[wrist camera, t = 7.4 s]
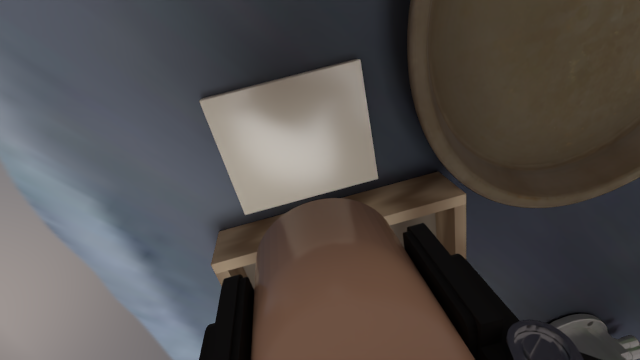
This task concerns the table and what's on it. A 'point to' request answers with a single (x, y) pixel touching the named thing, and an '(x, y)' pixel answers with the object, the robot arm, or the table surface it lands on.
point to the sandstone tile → (294, 136)
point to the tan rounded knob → (344, 291)
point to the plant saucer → (529, 95)
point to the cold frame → (390, 201)
